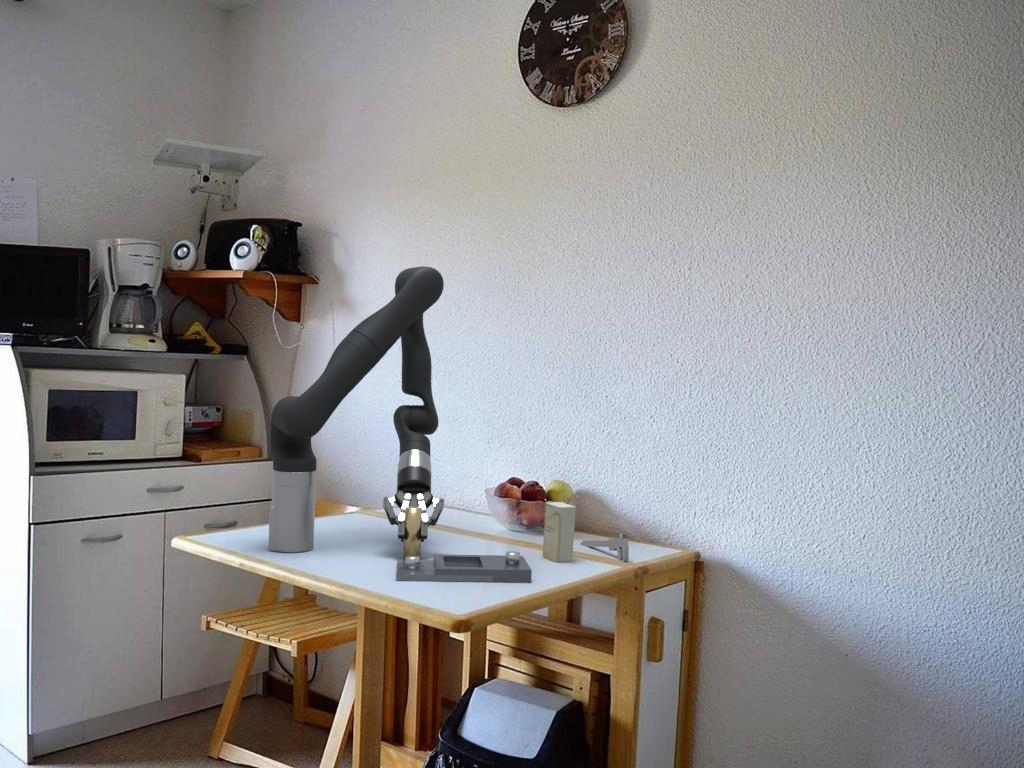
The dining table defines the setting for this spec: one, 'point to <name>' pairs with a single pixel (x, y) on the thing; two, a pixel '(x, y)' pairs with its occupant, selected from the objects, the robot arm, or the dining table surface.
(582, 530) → the dining table surface
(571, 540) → the skincare box
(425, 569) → the chain end lower
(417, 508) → the pin
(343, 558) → the dining table surface
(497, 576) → the chain end upper
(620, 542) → the caliper
